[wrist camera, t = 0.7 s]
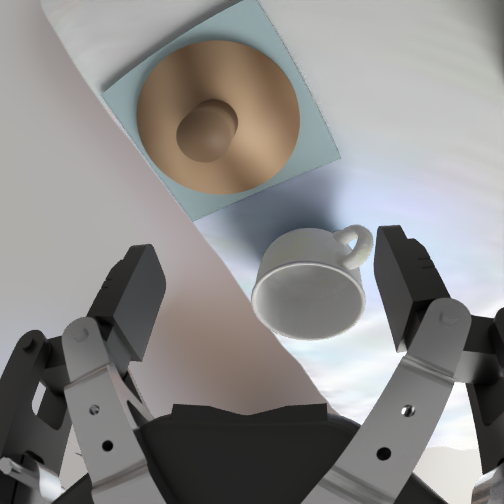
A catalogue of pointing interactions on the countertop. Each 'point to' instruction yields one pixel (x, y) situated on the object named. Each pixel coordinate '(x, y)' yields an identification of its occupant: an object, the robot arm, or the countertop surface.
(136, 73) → the mat
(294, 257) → the teacup
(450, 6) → the countertop surface
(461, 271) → the countertop surface
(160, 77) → the lid
